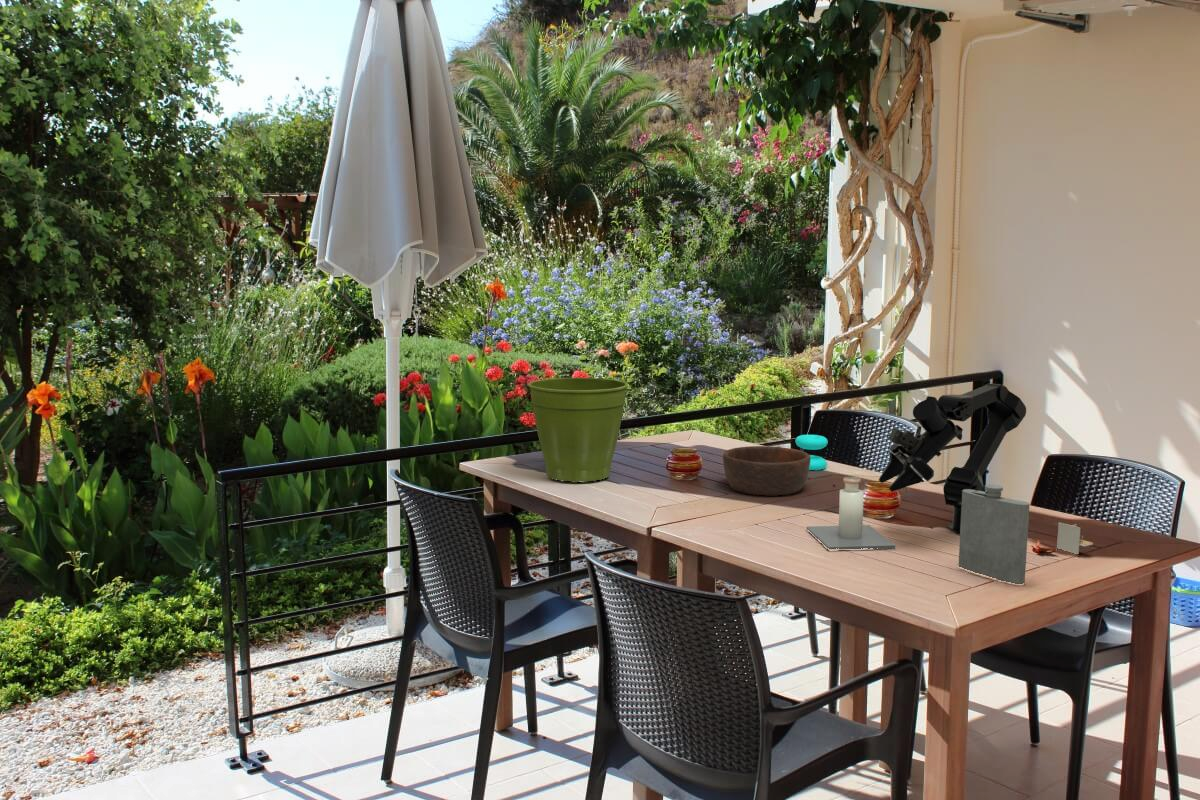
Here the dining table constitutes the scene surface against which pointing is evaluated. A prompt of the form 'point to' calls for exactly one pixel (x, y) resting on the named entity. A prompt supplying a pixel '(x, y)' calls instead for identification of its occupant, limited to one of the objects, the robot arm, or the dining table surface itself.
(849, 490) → the corked frosted bottle
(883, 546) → the charcoal tile board
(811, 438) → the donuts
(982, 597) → the dining table surface
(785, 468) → the wooden bowl
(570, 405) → the plant pot
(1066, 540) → the pale grey angular piece
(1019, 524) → the hip flask
